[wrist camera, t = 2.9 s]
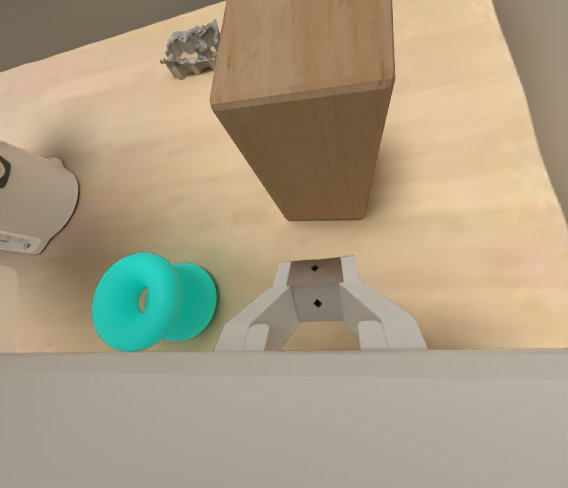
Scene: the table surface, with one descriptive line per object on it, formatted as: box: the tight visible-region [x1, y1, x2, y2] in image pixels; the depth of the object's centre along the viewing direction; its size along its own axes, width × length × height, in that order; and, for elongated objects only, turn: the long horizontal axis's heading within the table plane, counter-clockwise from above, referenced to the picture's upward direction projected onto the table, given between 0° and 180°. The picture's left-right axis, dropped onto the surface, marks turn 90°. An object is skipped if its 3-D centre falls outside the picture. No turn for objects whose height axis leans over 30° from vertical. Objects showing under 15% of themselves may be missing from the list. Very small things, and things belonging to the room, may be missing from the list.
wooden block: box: [210, 0, 395, 220], centre depth 23 cm, size 10×10×20 cm
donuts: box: [92, 253, 217, 352], centre depth 28 cm, size 10×10×10 cm
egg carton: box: [160, 19, 221, 80], centre depth 42 cm, size 11×8×4 cm
